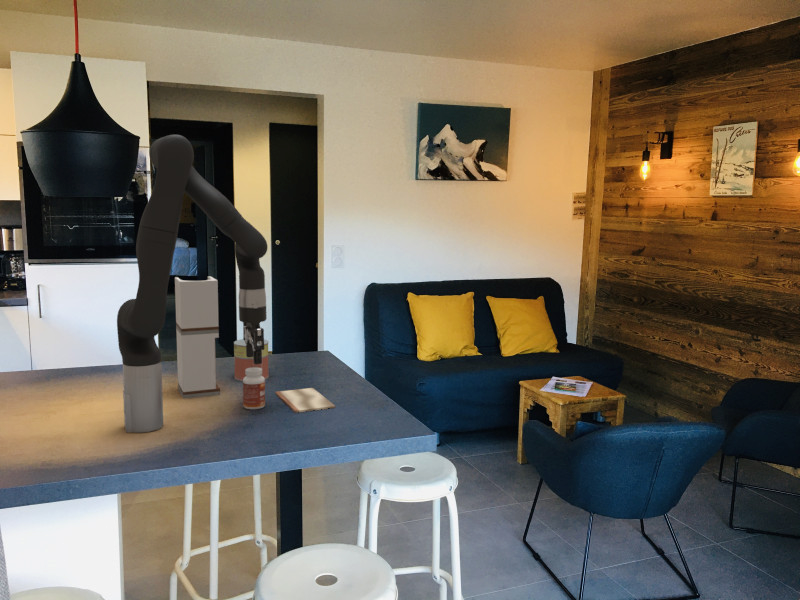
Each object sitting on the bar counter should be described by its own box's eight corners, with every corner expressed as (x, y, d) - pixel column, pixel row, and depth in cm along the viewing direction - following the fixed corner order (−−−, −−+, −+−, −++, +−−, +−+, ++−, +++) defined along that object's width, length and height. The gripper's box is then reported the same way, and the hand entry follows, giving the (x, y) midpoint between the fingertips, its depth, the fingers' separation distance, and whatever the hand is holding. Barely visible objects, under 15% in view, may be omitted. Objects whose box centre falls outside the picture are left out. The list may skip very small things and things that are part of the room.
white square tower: (219, 394, 197) (217, 280, 192) (183, 398, 193) (180, 281, 187) (213, 385, 207) (210, 276, 202) (178, 388, 203) (174, 277, 198)
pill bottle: (264, 409, 184) (264, 371, 182) (242, 410, 183) (241, 372, 182) (265, 403, 190) (265, 366, 188) (244, 403, 189) (243, 366, 188)
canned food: (241, 371, 224) (241, 337, 223) (273, 373, 223) (273, 339, 221) (228, 380, 213) (228, 344, 212) (261, 382, 212) (261, 346, 210)
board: (294, 413, 182) (294, 410, 182) (275, 393, 199) (275, 391, 199) (335, 407, 187) (335, 405, 187) (312, 389, 205) (312, 387, 205)
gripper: (233, 301, 187) (235, 356, 189) (245, 309, 174) (246, 367, 177) (259, 299, 190) (260, 353, 193) (272, 307, 178) (273, 364, 180)
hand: (253, 360), depth 185 cm, fingers open, 8 cm apart
